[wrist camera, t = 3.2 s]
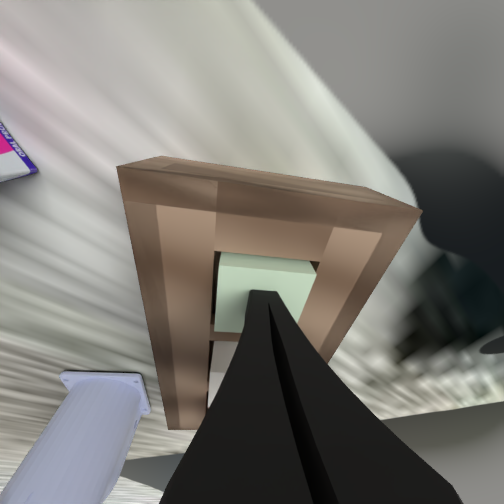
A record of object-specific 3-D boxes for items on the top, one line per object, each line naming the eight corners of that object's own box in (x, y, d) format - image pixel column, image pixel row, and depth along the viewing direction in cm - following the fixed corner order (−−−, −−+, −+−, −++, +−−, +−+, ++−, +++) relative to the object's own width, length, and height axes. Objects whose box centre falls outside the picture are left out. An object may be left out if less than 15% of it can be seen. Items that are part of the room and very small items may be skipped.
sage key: (281, 292, 14) (292, 335, 11) (220, 287, 13) (214, 331, 10) (297, 239, 12) (316, 274, 9) (225, 230, 11) (218, 265, 8)
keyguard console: (279, 384, 24) (286, 429, 20) (180, 381, 22) (168, 429, 19) (366, 187, 12) (423, 210, 8) (161, 155, 10) (116, 166, 7)
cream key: (266, 358, 16) (271, 407, 13) (214, 355, 16) (207, 407, 13) (277, 323, 14) (287, 374, 11) (217, 320, 14) (209, 372, 11)
